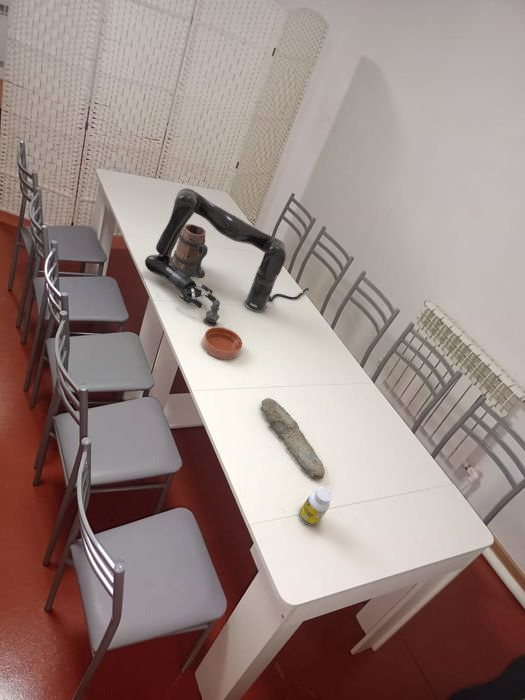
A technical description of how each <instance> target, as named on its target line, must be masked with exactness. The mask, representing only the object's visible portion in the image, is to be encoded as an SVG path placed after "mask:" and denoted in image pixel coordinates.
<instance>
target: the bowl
mask: <svg viewBox="0 0 525 700" xmlns="http://www.w3.org/2000/svg"><path fill="white" fill-rule="evenodd" d="M202 346H203V348H204V350H205V351H206V352H207V353H208V354H209V355H210V356H213V357H215V358H217V359H221V360H233V359H235V358H237V357H238V356H239V355H240V354H241V351H242V348H243V340H242V338H241V337H240V335H238V334H237V333H236V332H234V331H232V330H231V329H229V328H226V327H220V326H213V327H210V328H208V329H207V330H206V331H205V332H204V336H203V339H202Z"/></svg>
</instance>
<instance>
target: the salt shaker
mask: <svg viewBox="0 0 525 700" xmlns="http://www.w3.org/2000/svg"><path fill="white" fill-rule="evenodd" d="M220 305H221V302H220V300H219V298H216V300H214V301H213V302H212V305H210V310H207V311H206V312H205V318H204V320H203V321H204V323H205V324H206V325H207V326H209V327H216V325H217V321H218V320H219V319H220V315H219V313H218V312H219V311H220Z"/></svg>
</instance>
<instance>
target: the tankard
mask: <svg viewBox="0 0 525 700" xmlns="http://www.w3.org/2000/svg"><path fill="white" fill-rule="evenodd" d="M207 254H208V246H207V245H206V229H204V228H203V227H201V226H198V225H196V224H192V223H186V224H185V226H184V228H183V229H182V231H181V233H180V236H179V238H178V240H177V243H176V248H175V250H174V252H173V256H171V259H170V265H173V266H175V267H176V268H177V269H179V270H180V271H181V272H183V273H185V274H186V275H187V276H188V277H190V278H193V277H196V279H204V278H205V277H206V272H205V270H204V269H202V266H201V265H202V262H203V259H204V258H205V257H206V256H207Z"/></svg>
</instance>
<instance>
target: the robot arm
mask: <svg viewBox="0 0 525 700" xmlns="http://www.w3.org/2000/svg"><path fill="white" fill-rule="evenodd" d="M194 214H196V215H198V216H200V217H202V218H203V219H205V220H206V221H207V222H208V223H209V224H210V225H211V226H212V227H213V228H214V229H215V230H216V231H217V232H218V233H219V234H221V235H222V236H224V237H226V238H227V239H230V240H231V241H233V242H236V243H240V244H244V245H245V244H247V245H250V246H253V247H255V248H257V250H260V251H261V252H263V253H264V254H263V256H262V259H261V262H260V264H259V266H258V267H257V270H256V273H255V275H254V278H253V280H252V283H251V286H250V289H249V292H248V294H247V296H246V300H245V302H244V305H245V307H246V308H247V309H248V310H250V311H252V312H255V313H261V312H264V311H265V309H266V306H267V304H268V303H269V302H272V301H273V300H274V299H275V298H276V297H278V296H279V297H284V298H287V299H291V300H296V299H298V298H300V297H301V296H302V295H303V294H304V293H306V291H310V289H309V287H306V288H304V289H303V290H302V292H303V293H302V292H300V293H298V295H296V296H289V295H286V294H282V293H275V294H274V295H272V296H271V294H272V291H273V289H274V286H275V283H276V281H277V278H278V276H279V275H280V273H281V271H282V269H283V266H284V264H285V261H286V260H287V259H286V258H287V249H286V248H287V247H286V245H285V243H284V242H283V241H282V240H281V239H279V238H277V237H275V236H272V235H271V234H267V233H265V232H263V231H261V230H259V229H258V228H256V227H255V226H253V225H251V224H249V223H248V222H246V221H244V220H243V219H241V218H239V217H238V216H236V215H234V214H232V213H230V212H229V211H226V210H225V209H223V208H222V207H219V206H218V205H216V204H214V203H213V202H211V201H210V200H208V199H207V198H205V197H204V196H203V195H201V194H199V192H197V191H195V190H194V189H192V188H181V189H180V190H179V191H178V192H177V194H176V196H175V199H174V204H173V208H172V211H171V215H170V218H169V221H168V222H167V224H166V225H165V228H164V229H163V231H162V232H161V235H160V236H159V239H158V241H157V243H156V245H155V250H156V253H158V254H150V255H148V256H146V258H145V260H144V263H145V264H144V265H145V267H146V270H148V271H149V272H150V273H152V274H154V275H156V276H158V277H160V278H163V279H164V280H165V281H166V282H167V283H169V284H170V285H171V286H172V287H173V288H174V290H177V292H179V298H180V299H182V301H184V302H185V304H187V305H190V304H192V305H194V306H195V307H197V308H198V309H201V308H203V307H202V306H203V303H202V302H201V301H200V300H198V299H197V298H206V299H207V300H209V301H210V302H211V303H213V301H214V300H217V298H216V297H215V296H214V295H213V292H214V291H213V290H212V289H210V288H209V287H208V286H206V285H205V284H201V286H198V285H197V283H196V281H195V280H194V279H192V277H188V276H187V275H186V274H185V273H183V272H181V271H180V270H179V269H177V268H176V267H175V266H173V265H170V259H171V258H172V253H173V251H174V249H175V246H177V244H178V240H179V236H180V233H181V232H182V229H183V228H184V226H185V225H187V224H188V221H189V220H190V219H191V218H192V216H194Z"/></svg>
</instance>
